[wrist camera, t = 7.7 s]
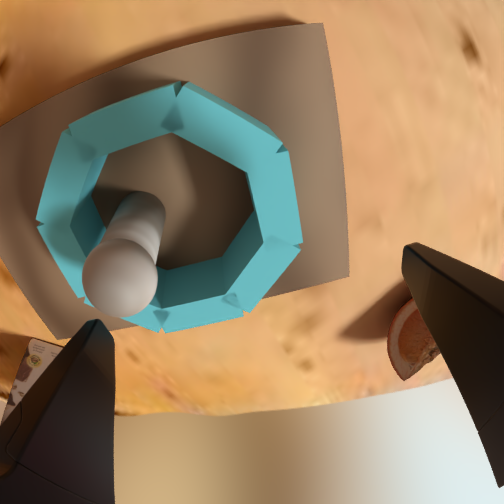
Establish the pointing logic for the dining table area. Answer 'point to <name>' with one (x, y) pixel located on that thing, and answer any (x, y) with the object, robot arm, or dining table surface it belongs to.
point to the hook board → (179, 177)
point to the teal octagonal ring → (216, 142)
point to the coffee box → (30, 371)
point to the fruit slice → (410, 342)
